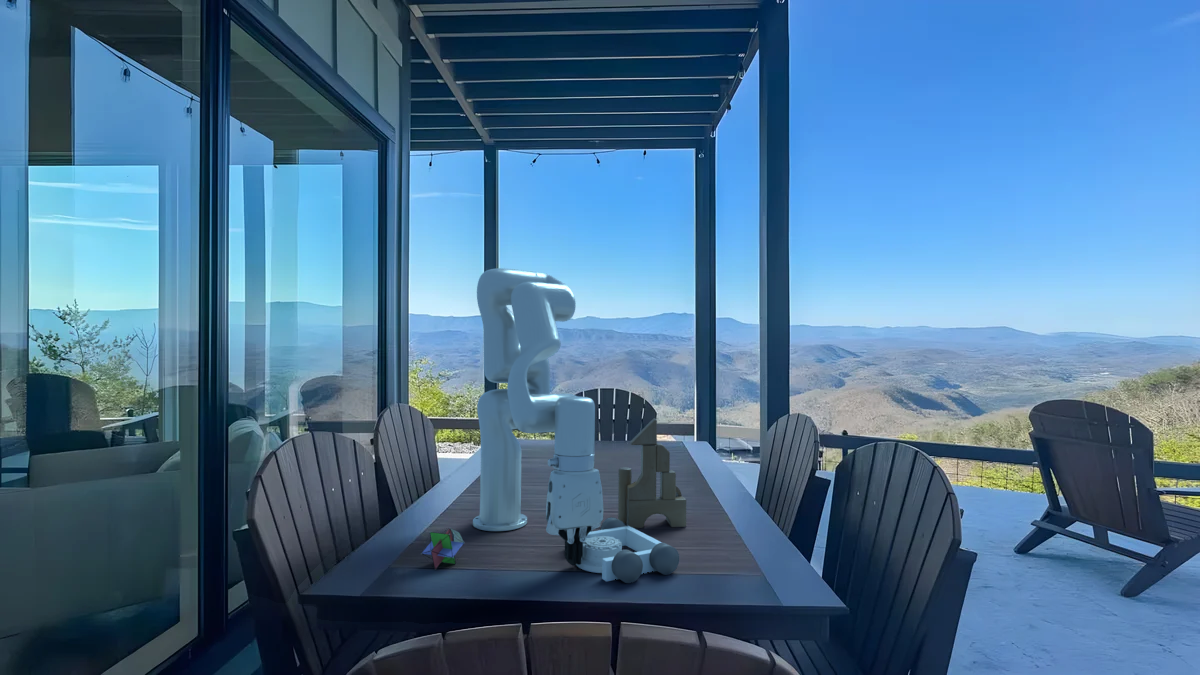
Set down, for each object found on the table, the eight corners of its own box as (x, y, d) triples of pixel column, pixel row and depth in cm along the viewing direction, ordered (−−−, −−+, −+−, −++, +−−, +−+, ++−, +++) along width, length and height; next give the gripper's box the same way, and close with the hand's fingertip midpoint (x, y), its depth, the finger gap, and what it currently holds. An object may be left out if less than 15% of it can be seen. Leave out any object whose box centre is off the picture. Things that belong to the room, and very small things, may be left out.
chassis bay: (561, 549, 113) (561, 524, 113) (622, 538, 120) (622, 515, 120) (613, 586, 94) (613, 557, 94) (681, 571, 101) (681, 544, 101)
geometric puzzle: (442, 565, 97) (458, 521, 102) (409, 561, 99) (426, 518, 104) (459, 578, 103) (473, 536, 108) (427, 573, 105) (442, 532, 110)
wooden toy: (679, 518, 135) (679, 416, 136) (686, 527, 128) (686, 419, 129) (617, 520, 134) (618, 416, 135) (620, 528, 127) (621, 419, 128)
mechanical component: (619, 577, 98) (634, 559, 108) (620, 552, 99) (634, 536, 108) (568, 570, 102) (586, 552, 111) (568, 546, 102) (586, 530, 111)
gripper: (545, 470, 96) (543, 577, 95) (619, 463, 103) (618, 562, 102) (529, 463, 103) (528, 562, 102) (600, 456, 110) (599, 550, 109)
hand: (573, 562), depth 102 cm, fingers closed
